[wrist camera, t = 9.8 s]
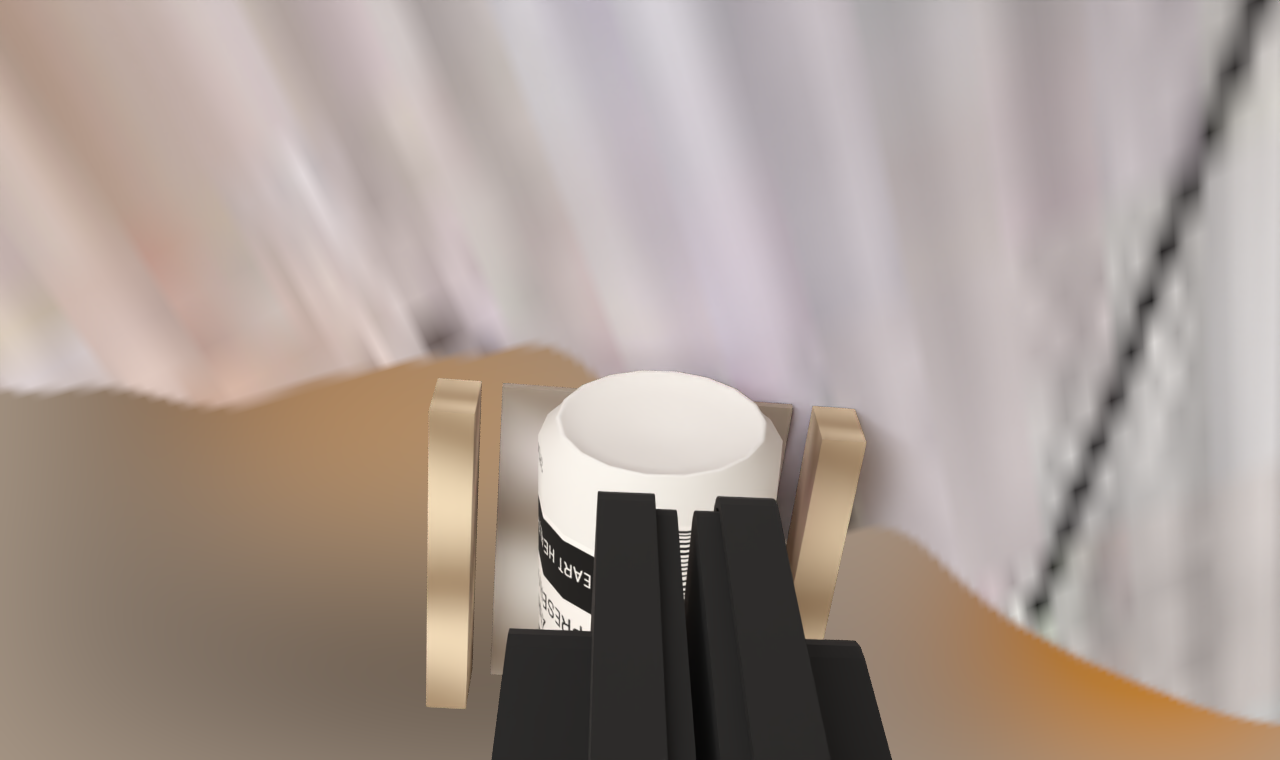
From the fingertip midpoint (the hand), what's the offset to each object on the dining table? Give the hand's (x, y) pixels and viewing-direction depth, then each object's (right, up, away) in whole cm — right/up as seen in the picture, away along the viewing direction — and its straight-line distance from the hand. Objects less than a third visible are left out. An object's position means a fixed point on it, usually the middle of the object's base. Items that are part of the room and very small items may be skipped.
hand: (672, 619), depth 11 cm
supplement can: (0, +1, +28) cm, 28 cm away
